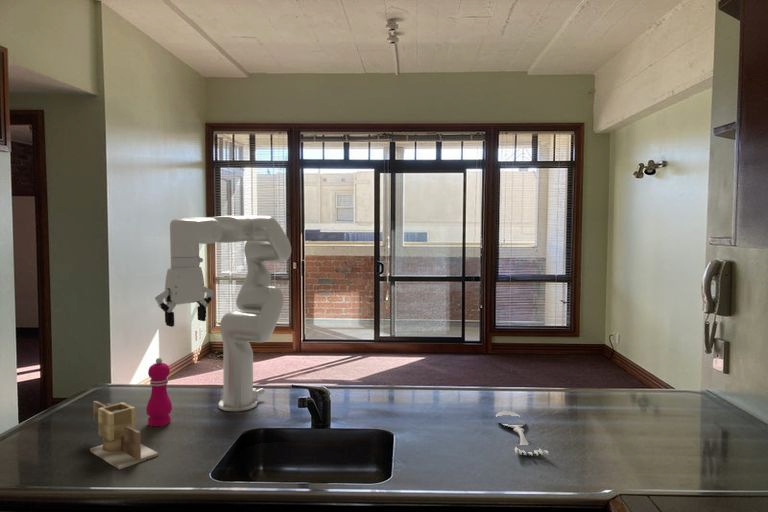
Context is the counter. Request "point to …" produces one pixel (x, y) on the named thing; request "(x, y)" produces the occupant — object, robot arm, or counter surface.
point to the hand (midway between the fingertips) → (186, 323)
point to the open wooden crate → (113, 419)
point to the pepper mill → (159, 395)
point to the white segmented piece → (521, 435)
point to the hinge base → (124, 449)
